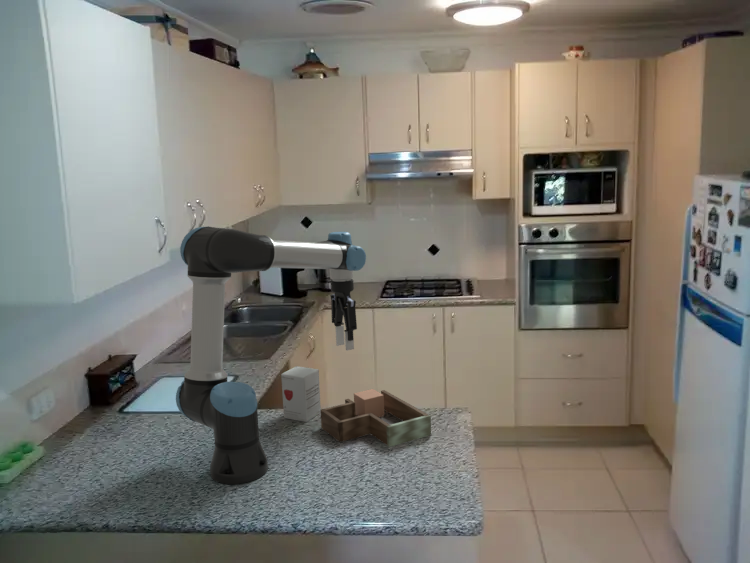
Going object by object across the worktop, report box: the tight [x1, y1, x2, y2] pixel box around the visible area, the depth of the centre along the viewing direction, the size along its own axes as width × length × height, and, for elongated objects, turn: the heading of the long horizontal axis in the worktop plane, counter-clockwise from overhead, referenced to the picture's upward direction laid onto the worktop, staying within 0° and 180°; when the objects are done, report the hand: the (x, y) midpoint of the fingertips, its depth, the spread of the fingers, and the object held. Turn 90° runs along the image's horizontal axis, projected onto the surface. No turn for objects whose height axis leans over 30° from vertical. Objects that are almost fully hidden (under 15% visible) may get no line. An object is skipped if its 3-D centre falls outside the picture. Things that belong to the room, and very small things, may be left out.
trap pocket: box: [320, 402, 371, 443], centre depth 205 cm, size 11×12×6 cm
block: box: [353, 388, 385, 418], centre depth 217 cm, size 7×7×7 cm
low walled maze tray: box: [344, 389, 432, 448], centre depth 207 cm, size 14×27×6 cm, turn 30°
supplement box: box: [280, 365, 322, 423], centre depth 217 cm, size 9×9×15 cm
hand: (345, 347), depth 226 cm, fingers open, 6 cm apart
